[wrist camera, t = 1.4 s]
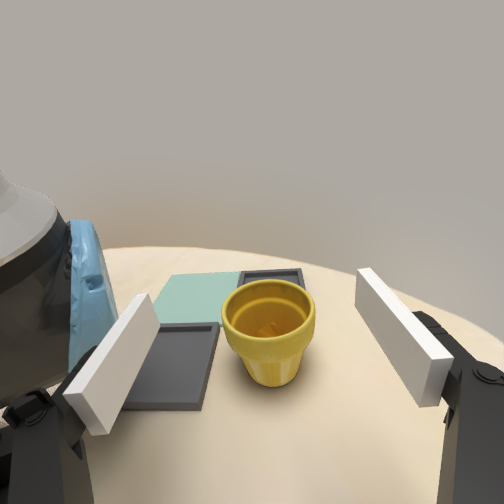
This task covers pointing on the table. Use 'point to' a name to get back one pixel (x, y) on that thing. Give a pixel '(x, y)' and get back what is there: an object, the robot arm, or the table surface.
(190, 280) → the pad
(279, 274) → the tray
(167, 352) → the tray
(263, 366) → the plant pot
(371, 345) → the table surface
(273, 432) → the table surface
